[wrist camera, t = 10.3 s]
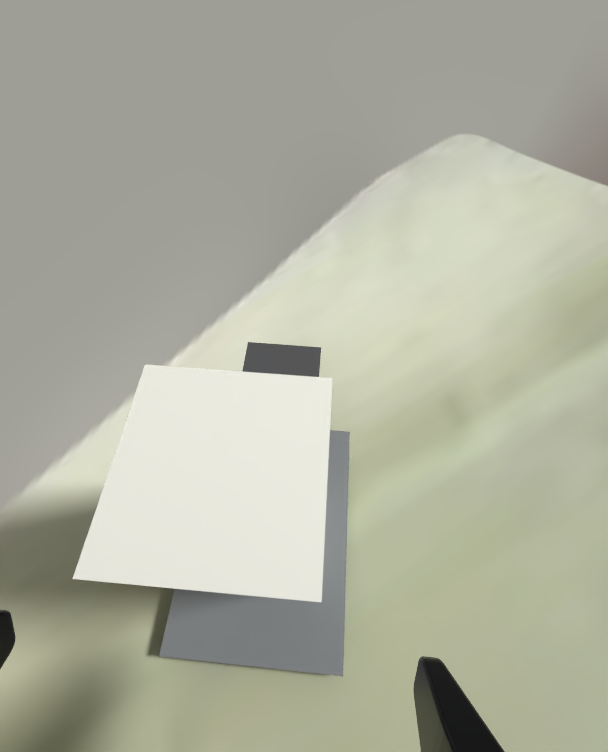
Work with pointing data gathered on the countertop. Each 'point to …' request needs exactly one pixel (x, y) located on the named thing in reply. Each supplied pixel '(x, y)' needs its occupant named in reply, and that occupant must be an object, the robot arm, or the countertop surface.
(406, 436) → the countertop surface
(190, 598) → the charging dock
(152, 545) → the brick
